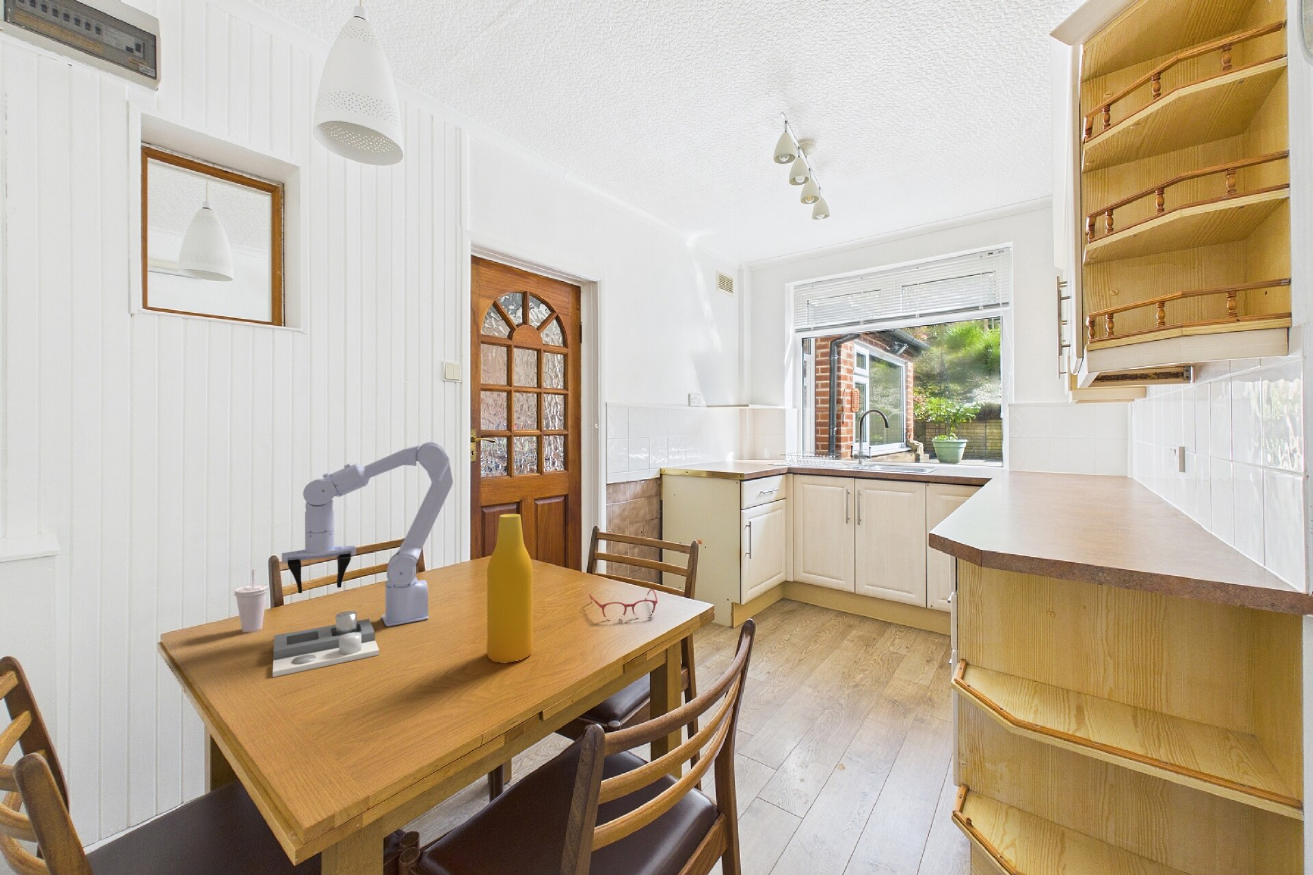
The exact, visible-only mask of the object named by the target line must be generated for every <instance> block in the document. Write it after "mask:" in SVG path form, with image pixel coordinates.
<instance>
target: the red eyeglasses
mask: <svg viewBox="0 0 1313 875" xmlns="http://www.w3.org/2000/svg"><path fill="white" fill-rule="evenodd" d="M651 591H652V592H653V594H654V597H655V600H653V599H640V600H637V601H636V602H634V603H624V602H620V601H612V602H607V603H603V604H601V603H600V602H599V601H597V599H595V598H594V597H593V596H592V594H591V593H588V596H589V597H590V598H589V599H590V601H591V600H592V601H594V603H595V604H596V605H597V606H598V607H599V608H601V611H602V614H603V617H604V618H605V617H607V616H606V614H605V608H606V607H607V606H609V605H612V604H613V605H614V604H618V605H621V606H622V607H624V611H623V613H622V615H624V616H625V615H626V614H627V611H628V608H630V607H631V611H632V614H633V615H634V614H635V615H636V613H635V607H636V606H637V604H639V603H642V602H650V603H652V605H653V607H652V611H651V612H652V613H653V614H654V612H655V610H656V605H657V604H658V597H657V593H656V591H655V589H654V588H650V589H649V591H647V594H646V595H648V596H649V594H650V592H651Z"/></svg>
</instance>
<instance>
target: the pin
mask: <svg viewBox="0 0 1313 875" xmlns="http://www.w3.org/2000/svg"><path fill="white" fill-rule="evenodd" d="M357 613H358V612H356V611H354V610H347V611H342V612H339V613H337V614H335V625H336V636H339V635H344V634H348V633H355V632H357V621H358V619H357V618H358V617H357V615H358V614H357Z"/></svg>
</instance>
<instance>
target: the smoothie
mask: <svg viewBox="0 0 1313 875" xmlns="http://www.w3.org/2000/svg"><path fill="white" fill-rule="evenodd" d="M255 571H256V570H255V569H251V585H246V586H245V585H244V586H241V587H238V588H236V589H234V594H233V596H235V597H236V603H237V610H238V616H239V620H240V627H241V631H242V633H244V632H245V633H247V632H248V633H254V632H257V631H260V630H262V629H263V624H264V623H263V622H264V615H265V608H266V602H267V600H266V599H267V594H268V592H269V585H267V584H256V572H255Z"/></svg>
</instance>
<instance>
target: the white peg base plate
mask: <svg viewBox="0 0 1313 875" xmlns="http://www.w3.org/2000/svg"><path fill="white" fill-rule="evenodd" d="M376 656H380V648H379V645H378V644H377V640H375V641H371V642H366V643H361V633H348V634H344V635H342V636H340V637H339V648H335V649H330V650H325V651H320V652H315V653H309V654H304V655H299V656H294V657H289V658H284V659H279V660H274V659H273V662H272V677H273V678H275V677H279V676H284V675H286V676H287V675H289V674H294V673H299V672H304V671H309V670H314V669H319V668H323V667H327V666H332V665H338V664H342V663H346V662H351V661H357V660H361V659H366V658H371V657H376Z"/></svg>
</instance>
